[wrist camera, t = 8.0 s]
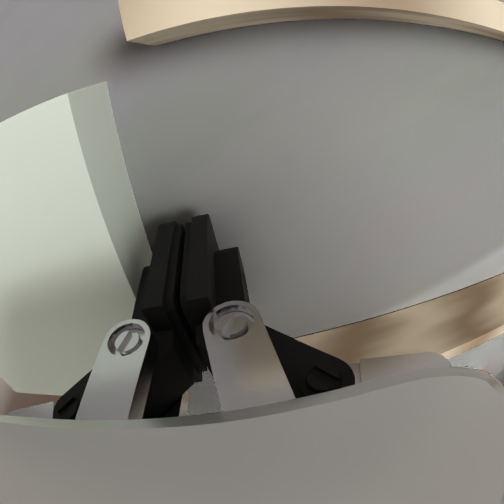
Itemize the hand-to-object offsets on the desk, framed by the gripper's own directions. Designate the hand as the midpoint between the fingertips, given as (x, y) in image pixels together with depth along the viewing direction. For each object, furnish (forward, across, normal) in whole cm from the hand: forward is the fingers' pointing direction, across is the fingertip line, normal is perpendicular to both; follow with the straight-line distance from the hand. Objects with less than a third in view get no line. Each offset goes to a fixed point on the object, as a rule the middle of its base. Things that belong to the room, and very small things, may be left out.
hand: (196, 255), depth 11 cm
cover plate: (+2, +7, -1) cm, 7 cm away
